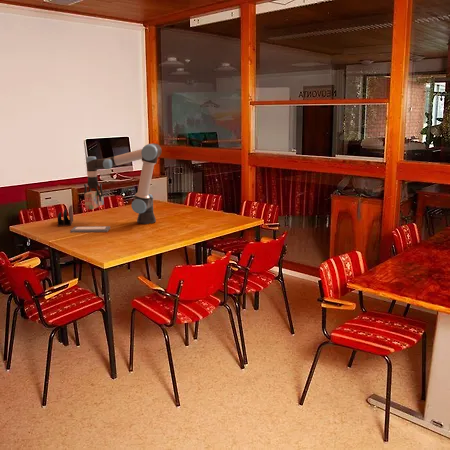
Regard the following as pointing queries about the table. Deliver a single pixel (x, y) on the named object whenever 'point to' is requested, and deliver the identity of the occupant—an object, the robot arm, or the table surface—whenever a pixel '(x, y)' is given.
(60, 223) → the letter holder
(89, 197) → the stack of blocks
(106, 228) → the base board
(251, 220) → the table surface
